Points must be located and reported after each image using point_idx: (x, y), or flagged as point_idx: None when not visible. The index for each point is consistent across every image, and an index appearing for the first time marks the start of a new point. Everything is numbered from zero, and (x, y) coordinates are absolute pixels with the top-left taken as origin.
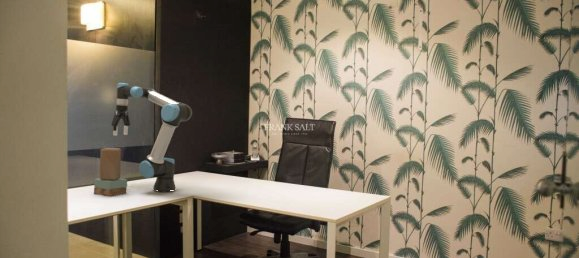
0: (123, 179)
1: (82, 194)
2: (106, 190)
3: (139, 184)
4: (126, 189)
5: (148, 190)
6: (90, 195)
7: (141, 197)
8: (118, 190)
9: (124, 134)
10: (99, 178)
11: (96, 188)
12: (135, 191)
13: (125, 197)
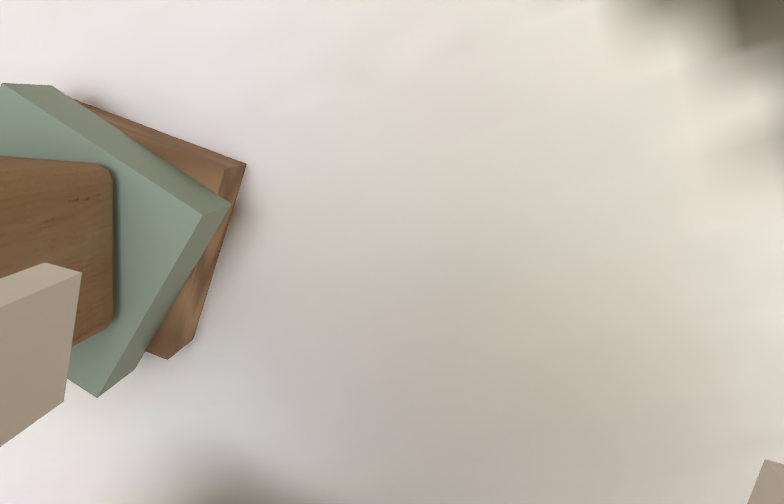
0: (80, 364)
1: (23, 8)
2: None
3: (658, 358)
4: (179, 349)
5: (353, 489)
6: None
7: (55, 485)
8: None
9: (752, 502)
10: (51, 119)
11: None
12: (278, 396)
13: None
